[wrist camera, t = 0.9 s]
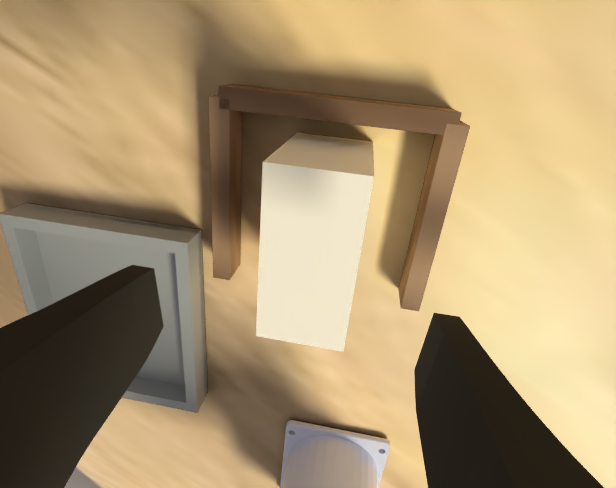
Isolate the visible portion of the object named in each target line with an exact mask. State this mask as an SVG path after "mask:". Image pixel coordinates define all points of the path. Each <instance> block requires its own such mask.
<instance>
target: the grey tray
mask: <svg viewBox="0 0 616 488" xmlns="http://www.w3.org/2000/svg"><path fill="white" fill-rule="evenodd" d="M0 223H1V226H2V229H3V233H4V236H5V239H6V243H7V246H8V249H9V253H10V256H11V259H12V262H13V266H14V269H15V272H16V276H17V279H18V282H19V286H20V289H21V292H22V296H23V299H24V302H25V306H26V309H27V312H28V315H30V314H32V313H34V312H36V311H39V310H41V309H43V308H45V307H47V306H49V305H51V304H53V303H55V302H57V301H59V300H61V299H63V298H65V297H67V296H69V295H71V294H73V293H75V292H77V291H79V290H81V289H83V288H85V287H87V286H89V285H91V284H93V283H95V282H97V281H99V280H101V279H103V278H105V277H107V276H109V275H111V274H113V273H115V272H117V271H119V270H121V269H124V268H126V267H128V266H131V265H137V266H143V267H149V268H154V270H155V276H156V283H157V289H158V295H159V301H160V307H161V313H162V319H163V325H164V327H163V329H162V331H161V333H160V335H159V337H158V339H157V341H156V343H155V345H154V347H153V349H152V351H151V353H150V355H149V357H148V358H147V360H146V362H145V363H144V365H143V366H142V368H141V370H140V371H139V372H138V374H137V375H136V377H135V378H134V380H133V381H132V383H131V384H130V386H129V387H128V389H127V390H126V392H125V393H124V395H123V396H122V398H127V399H132V400H137V401H142V402H146V403H151V404H156V405H161V406H166V407H171V408H176V409H181V410H186V411H191V412H196V413H197V412H198V410H199V408H200V406H201V404H202V402H203V400H204V398H205V396H206V394H207V393H208V380H207V354H206V328H205V302H204V276H203V250H202V230H200V229H194V228H187V227H181V226H174V225H168V224H161V223H154V222H148V221H141V220H135V219H128V218H122V217H115V216H108V215H102V214H95V213H89V212H82V211H75V210H69V209H62V208H56V207H49V206H43V205H36V204H29V203H24V204H22V205H19V206H16V207H14V208H11V209H9V210H6V211H3V212H1V213H0Z"/></svg>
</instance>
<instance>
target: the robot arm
mask: <svg viewBox="0 0 616 488" xmlns="http://www.w3.org/2000/svg"><path fill="white" fill-rule="evenodd" d="M163 327H164V325H163V319H162V313H161V307H160V301H159V295H158V289H157V283H156V276H155V270H154V268H149V267H143V266H137V265H131V266H128V267H126V268H124V269H121V270H119V271H117V272H115V273H113V274H111V275H109V276H107V277H105V278H103V279H101V280H99V281H97V282H95V283H93V284H91V285H89V286H87V287H85V288H83V289H81V290H79V291H77V292H75V293H73V294H71V295H69V296H67V297H65V298H63V299H61V300H59V301H57V302H55V303H53V304H51V305H49V306H47V307H45V308H43V309H41V310H39V311H36V312H34V313H32V314H30V315H28V316H26V317H23V318H21V319H19V320H17V321H15V322H13V323H10V324H8V325H6V326H4V327H2V328H0V488H64V487H65V485H66V483H67V481H68V479H69V478H70V476H71V474H72V473H73V471H74V469H75V467H76V465H77V464H78V462H79V460H80V459H81V457H82V455H83V454H84V452H85V451H86V449H87V447H88V446H89V444H90V443H91V441H92V440H93V438H94V437H95V435H96V434H97V432H98V431H99V429H100V428H101V427H102V425H103V424H104V422H105V421H106V419H107V418H108V416H109V415H110V413H111V412H112V411H113V409H114V408H115V406H116V405H117V403H118V402H119V400H120V399H121V397H122V396H123V395H124V393H125V392H126V390H127V389H128V387H129V386H130V384H131V383H132V381H133V380H134V378H135V377H136V375H137V374H138V372H139V371H140V370H141V368H142V366H143V365H144V363H145V362H146V360H147V358H148V357H149V355H150V353H151V351H152V349H153V347H154V345H155V343H156V341H157V339H158V337H159V335H160V333H161V331H162V329H163ZM415 398H416V413H417V419H418V426H419V433H420V439H421V445H422V452H423V458H424V464H425V470H426V477H427V483H428V488H604V487H603V486H602V485H601V484H600V483H599V482H598V481H597V480H596V479H595V478H594V477H593V476H592V475H591V474H590V473H589V472H588V471H587V470H586V469H585V468H584V467H583V466H582V465H581V464H580V463H579V462H578V461H577V460H576V459H575V458H574V456H573V455H572V454H571V453H570V452H569V451H568V450H567V449H566V448H565V447H564V446H563V445H562V444H561V442H560V441H559V440H558V439H557V438H556V437H555V436H554V435H553V433H552V432H551V431H550V430H549V429H548V428H547V427H546V425H545V424H544V423H543V422H542V421H541V420H540V419H539V417H538V416H537V415H536V414H535V413H534V412H533V411H532V409H531V408H530V407H529V406H528V405H527V403H526V402H525V401H524V400H523V399H522V397H521V396H520V395H519V394H518V392H517V391H516V390H515V389H514V388H513V386H512V385H511V384H510V383H509V381H508V380H507V379H506V377H505V376H504V375H503V374H502V372H501V371H500V370H499V369H498V367H497V366H496V365H495V363H494V362H493V361H492V359H491V358H490V357H489V355H488V354H487V353H486V351H485V350H484V349H483V348H482V346H481V345H480V343H479V342H478V341H477V339H476V338H475V337H474V335H473V334H472V333H471V331H470V330H469V329H468V327H467V326H466V325H465V323H464V322H463V321H462V319H461V318H460V317H457V316H450V315H444V314H438V313H434V314H433V317H432V320H431V323H430V326H429V329H428V332H427V335H426V338H425V341H424V344H423V347H422V350H421V353H420V355H419V358H418V361H417V364H416V367H415ZM389 449H390V442H389V441H388V440H387V439H385V438H380V437H375V436H370V435H365V434H360V433H355V432H350V431H345V430H340V429H335V428H330V427H325V426H320V425H315V424H310V423H305V422H300V421H295V420H290V421H288V422H287V425H286V432H285V442H284V453H283V463H282V473H281V483H280V488H378V487H379V483H380V480H381V476H382V473H383V469H384V466H385V463H386V459H387V456H388V452H389Z"/></svg>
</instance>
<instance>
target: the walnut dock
mask: <svg viewBox="0 0 616 488" xmlns="http://www.w3.org/2000/svg"><path fill="white" fill-rule="evenodd" d="M242 111H243V112H252V113H260V114H269V115H277V116H286V117H294V118H303V119H311V120H320V121H328V122H337V123H345V124H354V125H362V126H371V127H379V128H387V129H396V130H404V131H413V132H421V133H430V134H435V139H434V143H433V147H432V151H431V155H430V159H429V164H428V168H427V172H426V176H425V180H424V185H423V189H422V193H421V197H420V201H419V206H418V210H417V214H416V218H415V222H414V226H413V231H412V235H411V239H410V243H409V247H408V252H407V256H406V260H405V264H404V268H403V273H402V277H401V281H400V285H399V297H400V305H401V308H403V309H409V310H415V311H419V309H420V306H421V302H422V298H423V295H424V291H425V288H426V284H427V280H428V277H429V273H430V269H431V266H432V262H433V259H434V255H435V251H436V248H437V244H438V241H439V237H440V233H441V230H442V226H443V222H444V219H445V215H446V212H447V208H448V204H449V201H450V197H451V194H452V190H453V186H454V183H455V179H456V176H457V172H458V168H459V165H460V161H461V157H462V154H463V150H464V147H465V143H466V139H467V136H468V132H469V129H470V126H469V125H467V124H465V123H463V122H462V121H460V117H461V112H458V111H456V110H454V109H451V108H442V107H432V106H423V105H414V104H405V103H396V102H387V101H378V100H369V99H360V98H351V97H342V96H333V95H324V94H315V93H306V92H297V91H288V90H279V89H270V88H261V87H252V86H243V85H234V84H232V85H223V86H219V95H213V96H209V126H210V167H211V207H212V247H213V277H214V278H220V279H226V280H230V279H231V277H232V276H233V274H234V273H235V271H236V270H237V268H238V267H239V265H240V250H241V172H242Z"/></svg>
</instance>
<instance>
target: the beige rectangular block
mask: <svg viewBox="0 0 616 488" xmlns="http://www.w3.org/2000/svg"><path fill="white" fill-rule="evenodd" d="M373 180H374V159H373V142H371V141H363V140H355V139H347V138H338V137H330V136H322V135H314V134H306V133H296V134H295V135H294V136H292V137H291V138H290V139H289V140H288V141H287V142H285V143H284V144H283V145H282V146H281V147H280V148H278V149H277V150H276V151H275V152H274V153H272V154H271V155H270V156H269V157H268V158H267V159H265V160H264V161H263V167H262V193H261V219H260V245H259V272H258V298H257V324H256V336H259V337H264V338H270V339H275V340H281V341H287V342H292V343H298V344H303V345H309V346H315V347H320V348H326V349H331V350H337V351H342V352H343V350H344V345H345V339H346V333H347V328H348V322H349V316H350V310H351V305H352V299H353V293H354V288H355V282H356V276H357V271H358V265H359V259H360V254H361V248H362V242H363V237H364V231H365V225H366V219H367V214H368V208H369V202H370V197H371V191H372V185H373Z"/></svg>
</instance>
